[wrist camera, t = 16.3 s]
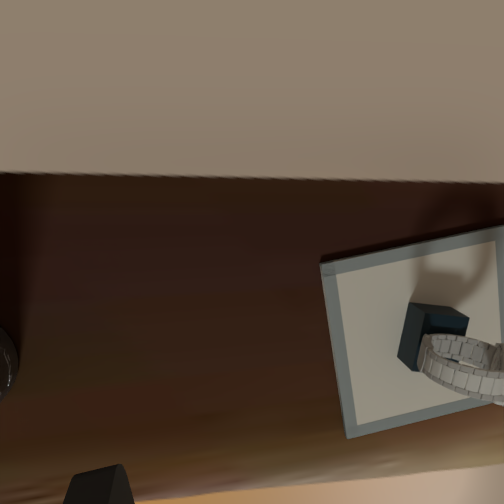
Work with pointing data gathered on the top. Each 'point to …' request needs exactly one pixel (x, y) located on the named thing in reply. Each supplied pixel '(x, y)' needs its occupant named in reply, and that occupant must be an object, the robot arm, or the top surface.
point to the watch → (451, 352)
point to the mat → (393, 316)
